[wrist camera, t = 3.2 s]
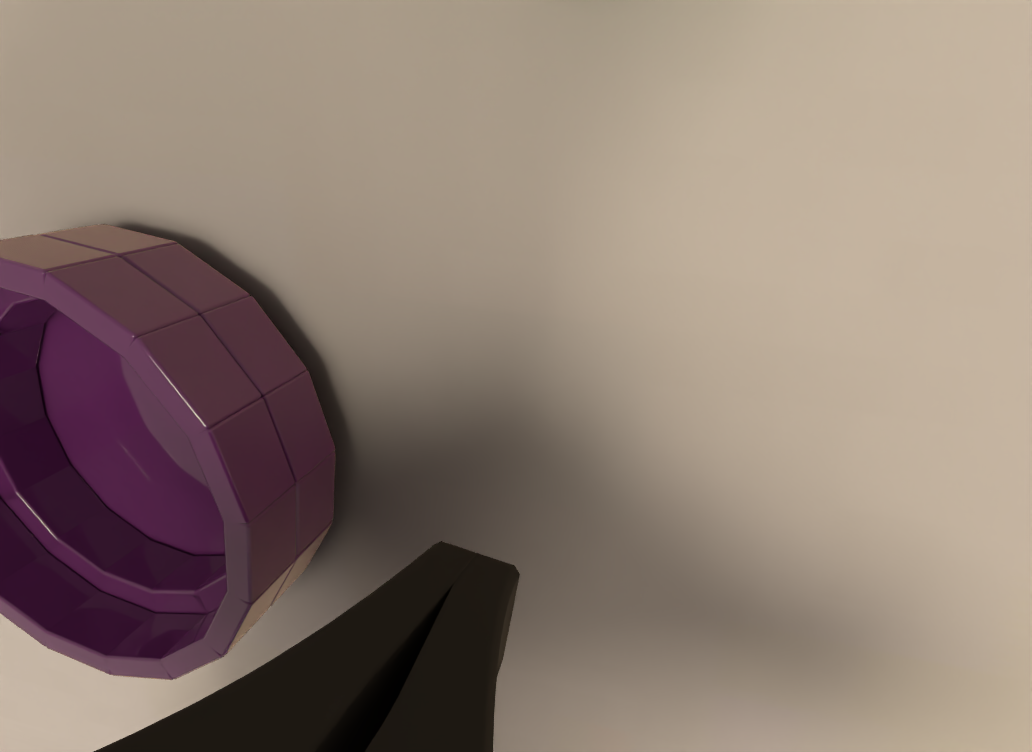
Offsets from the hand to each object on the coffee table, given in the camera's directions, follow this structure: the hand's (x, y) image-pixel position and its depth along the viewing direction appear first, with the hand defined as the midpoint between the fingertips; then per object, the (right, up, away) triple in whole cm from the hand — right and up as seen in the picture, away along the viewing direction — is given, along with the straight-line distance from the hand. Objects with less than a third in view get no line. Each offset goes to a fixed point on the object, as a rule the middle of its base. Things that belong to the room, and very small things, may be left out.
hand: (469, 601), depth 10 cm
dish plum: (-6, +3, +3) cm, 8 cm away
